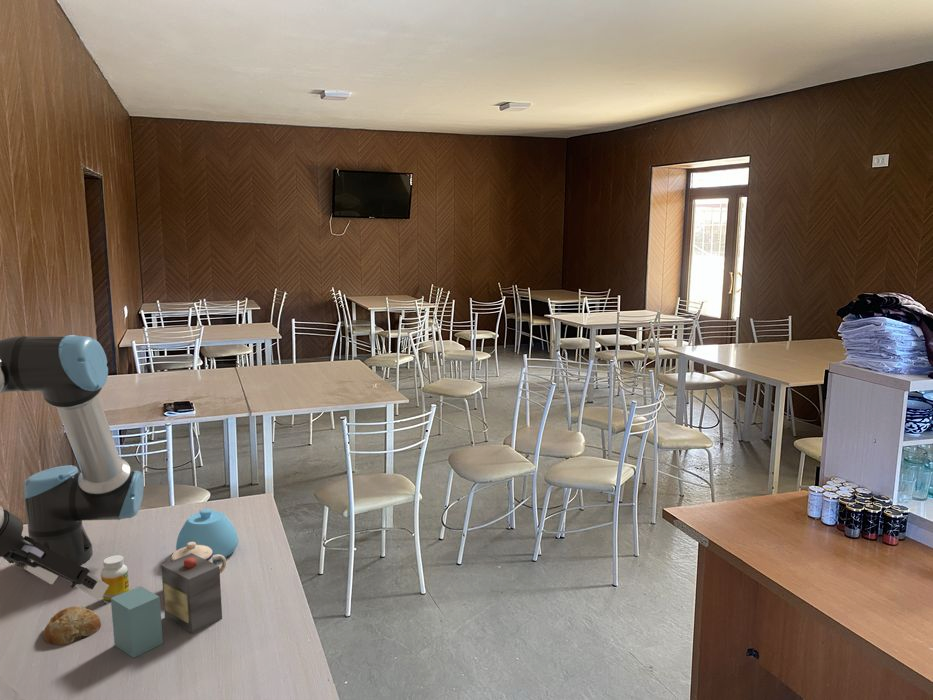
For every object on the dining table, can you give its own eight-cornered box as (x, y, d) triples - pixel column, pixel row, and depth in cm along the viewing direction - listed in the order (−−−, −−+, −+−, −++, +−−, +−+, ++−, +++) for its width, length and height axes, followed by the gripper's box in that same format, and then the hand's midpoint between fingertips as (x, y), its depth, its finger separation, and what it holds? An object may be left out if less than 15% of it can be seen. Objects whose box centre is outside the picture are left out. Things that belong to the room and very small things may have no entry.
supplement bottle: (103, 596, 160) (99, 556, 158) (129, 590, 162) (126, 551, 160) (103, 607, 155) (99, 566, 153) (130, 601, 157) (127, 561, 156)
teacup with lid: (177, 604, 156) (174, 555, 154) (169, 587, 164) (166, 540, 162) (232, 590, 163) (229, 542, 161) (222, 574, 170) (219, 528, 168)
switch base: (90, 655, 137) (84, 587, 135) (192, 607, 155) (188, 546, 152) (122, 678, 130) (117, 607, 128) (225, 626, 148) (222, 562, 145)
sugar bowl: (246, 556, 179) (244, 513, 178) (184, 572, 171) (181, 527, 169) (229, 535, 192) (227, 495, 190) (170, 549, 183) (168, 506, 181)
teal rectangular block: (114, 645, 138) (110, 598, 137) (143, 631, 143) (140, 585, 142) (133, 658, 134) (129, 609, 133) (162, 643, 139) (159, 596, 137)
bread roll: (57, 671, 138) (63, 643, 135) (30, 636, 142) (36, 608, 139) (105, 646, 147) (112, 619, 144) (79, 614, 151) (85, 587, 148)
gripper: (-74, 536, 116) (23, 590, 131) (14, 565, 104) (111, 620, 119) (-41, 497, 120) (50, 553, 135) (48, 519, 109) (137, 578, 123)
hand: (79, 584), depth 127 cm, fingers open, 13 cm apart
